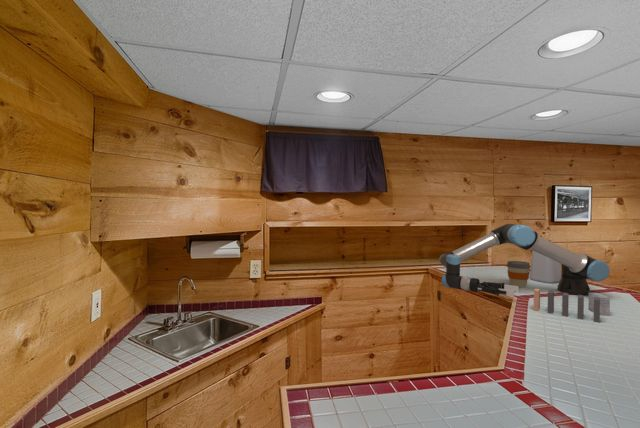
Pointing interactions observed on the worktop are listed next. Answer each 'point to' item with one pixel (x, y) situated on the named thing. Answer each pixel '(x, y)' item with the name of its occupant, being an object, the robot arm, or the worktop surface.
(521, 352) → the worktop surface
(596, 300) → the domino
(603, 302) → the medicine box
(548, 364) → the worktop surface
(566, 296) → the domino
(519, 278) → the reusable coffee cup
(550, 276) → the plastic bottle
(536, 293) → the terracotta domino
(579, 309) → the domino
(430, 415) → the worktop surface
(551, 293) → the domino
